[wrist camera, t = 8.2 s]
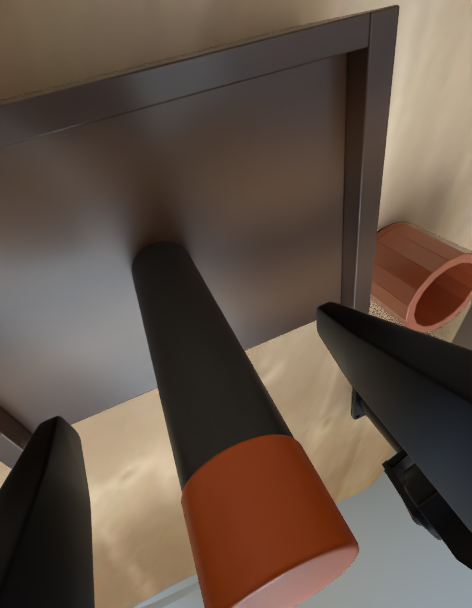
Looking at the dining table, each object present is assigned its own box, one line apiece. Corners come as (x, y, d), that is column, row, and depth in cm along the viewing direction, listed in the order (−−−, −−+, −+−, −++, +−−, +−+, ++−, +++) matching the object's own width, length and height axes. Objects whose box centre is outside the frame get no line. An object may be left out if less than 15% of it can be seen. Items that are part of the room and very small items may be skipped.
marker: (200, 283, 13) (357, 571, 6) (144, 305, 13) (230, 646, 5) (183, 230, 12) (367, 526, 4) (118, 253, 11) (188, 628, 4)
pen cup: (412, 277, 25) (470, 313, 22) (351, 303, 24) (400, 345, 21) (425, 210, 22) (497, 240, 18) (355, 238, 21) (415, 275, 17)
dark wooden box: (312, 265, 21) (369, 313, 17) (28, 377, 18) (11, 469, 14) (302, 24, 13) (400, 3, 9) (-193, 148, 10) (-379, 200, 6)
